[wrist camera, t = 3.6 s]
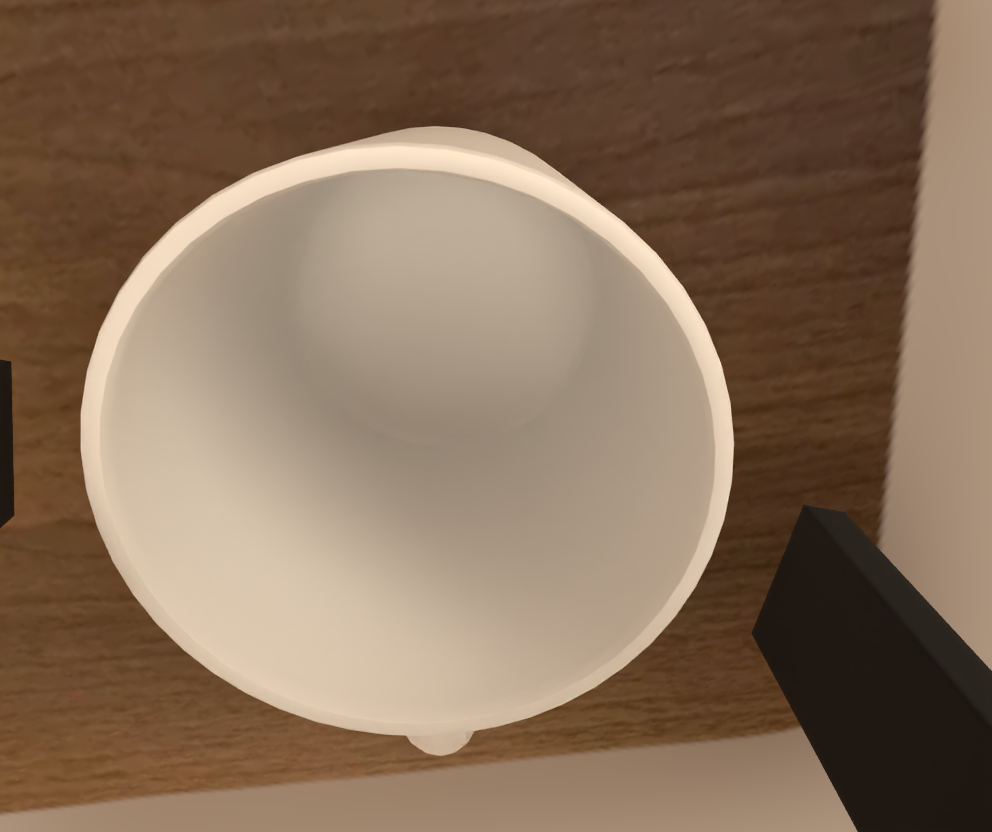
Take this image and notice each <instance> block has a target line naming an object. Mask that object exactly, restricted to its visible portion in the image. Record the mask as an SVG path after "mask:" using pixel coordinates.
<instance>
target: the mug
mask: <svg viewBox="0 0 992 832" xmlns="http://www.w3.org/2000/svg"><path fill="white" fill-rule="evenodd" d="M733 451H734V437H733V426H732V415H731V403H730V399H729V395H728V391H727V386H726V382H725V378H724V374H723V370H722V366H721V362H720V360H719V357H718V355H717V352H716V350H715V347H714V345H713V342H712V340H711V337H710V335H709V332H708V330H707V327H706V325H705V323H704V322H703V320H702V318H701V316H700V315H699V313H698V311H697V309H696V308H695V306H694V304H693V303H692V301H691V299H690V297H689V296H688V294H687V292H686V291H685V289H684V287H683V286H682V285H681V284H680V282H679V281H678V280H677V279H676V277H675V276H674V275H673V274H672V272H671V271H670V270H669V269H668V267H667V266H666V265H665V264H664V262H663V261H662V260H661V258H660V257H659V256H658V255H657V253H656V252H654V251H653V250H652V249H651V248H650V247H649V246H648V245H647V244H646V243H645V242H644V241H643V240H642V239H641V238H640V237H639V236H638V235H637V234H636V233H634V232H633V231H632V230H631V229H630V228H629V227H628V226H627V225H626V224H625V223H624V222H623V221H621V220H620V219H619V218H618V217H616V216H615V215H614V214H612V213H611V212H610V211H608V210H607V209H606V208H605V207H603V206H602V205H601V204H599V203H598V202H597V201H595V200H594V199H593V198H591V197H590V196H589V195H588V194H586V193H585V192H584V191H582V190H581V189H580V188H578V187H577V186H576V185H575V184H573V183H572V182H571V181H569V180H568V179H567V178H565V177H564V176H563V175H562V174H560V173H559V172H558V171H556V170H555V169H554V168H552V167H551V166H549V165H548V164H547V163H545V162H544V161H542V160H541V159H540V158H538V157H537V156H536V155H534V154H532V153H531V152H529V151H527V150H525V149H523V148H521V147H519V146H517V145H515V144H513V143H511V142H509V141H506V140H504V139H501V138H498V137H495V136H492V135H490V134H487V133H483V132H478V131H473V130H469V129H464V128H454V127H440V126H431V127H417V128H408V129H403V130H398V131H394V132H389V133H385V134H381V135H377V136H373V137H369V138H366V139H362V140H358V141H354V142H350V143H347V144H343V145H339V146H335V147H331V148H328V149H324V150H320V151H316V152H312V153H309V154H305V155H301V156H298V157H295V158H292V159H290V160H287V161H284V162H282V163H279V164H276V165H273V166H271V167H268V168H265V169H263V170H260V171H257V172H254V173H252V174H251V175H249V176H247V177H245V178H243V179H241V180H240V181H238V182H236V183H234V184H232V185H230V186H228V187H227V188H225V189H223V190H221V191H219V192H217V193H216V194H214V195H212V196H211V197H209V198H208V199H207V200H205V201H204V202H203V203H201V204H200V205H199V206H198V207H196V208H195V209H194V210H192V211H191V212H190V213H188V214H187V215H186V216H184V217H183V218H182V219H180V220H179V221H178V222H176V223H175V224H174V225H173V226H172V227H171V228H170V229H169V230H168V231H167V233H166V234H165V235H164V236H163V237H162V238H161V239H160V240H159V241H158V242H157V243H156V244H155V245H154V246H153V247H152V248H151V249H150V250H149V251H148V252H147V253H146V254H145V255H144V257H143V258H142V259H141V261H140V262H139V264H138V265H137V266H136V268H135V269H134V271H133V272H132V273H131V275H130V276H129V278H128V279H127V280H126V282H125V283H124V285H123V286H122V287H121V289H120V290H119V292H118V294H117V296H116V298H115V300H114V302H113V304H112V306H111V308H110V310H109V312H108V314H107V316H106V318H105V320H104V322H103V324H102V326H101V328H100V331H99V334H98V337H97V340H96V343H95V347H94V350H93V353H92V356H91V359H90V363H89V366H88V369H87V375H86V382H85V388H84V395H83V401H82V408H81V456H82V463H83V470H84V477H85V484H86V490H87V494H88V497H89V501H90V504H91V507H92V511H93V514H94V517H95V521H96V524H97V527H98V530H99V532H100V534H101V536H102V538H103V541H104V543H105V545H106V547H107V550H108V552H109V554H110V556H111V558H112V561H113V563H114V564H115V566H116V567H117V569H118V571H119V572H120V574H121V576H122V577H123V579H124V580H125V582H126V584H127V585H128V587H129V589H130V590H131V592H132V593H133V595H134V596H135V597H136V599H137V600H138V601H139V602H140V604H141V605H142V606H143V607H144V609H145V610H146V611H147V612H148V614H149V615H150V616H151V617H152V619H153V620H154V621H155V622H156V624H157V625H158V626H159V627H160V628H161V629H162V630H164V631H165V632H166V633H167V634H168V635H169V636H170V637H171V638H172V639H173V640H174V641H175V642H176V643H177V644H178V645H179V646H180V647H181V648H182V649H183V650H184V651H185V652H187V653H188V654H189V655H191V656H192V657H193V658H194V659H196V660H197V661H198V662H200V663H201V664H202V665H203V666H205V667H206V668H207V669H209V670H210V671H211V672H213V673H214V674H215V675H217V676H219V677H220V678H222V679H224V680H225V681H227V682H229V683H230V684H232V685H233V686H235V687H237V688H238V689H240V690H242V691H243V692H245V693H247V694H249V695H251V696H253V697H255V698H257V699H259V700H262V701H264V702H266V703H268V704H270V705H272V706H274V707H276V708H278V709H281V710H284V711H287V712H290V713H292V714H295V715H298V716H301V717H304V718H307V719H310V720H312V721H316V722H320V723H324V724H328V725H333V726H337V727H341V728H345V729H349V730H356V731H363V732H371V733H378V734H386V735H406V736H407V737H408V739H409V741H410V742H411V743H412V744H413V745H415V746H416V747H418V748H419V749H421V750H422V751H424V752H426V753H428V754H433V755H439V756H443V755H447V754H450V753H454V752H456V751H458V750H459V749H460V748H461V747H463V746H464V745H465V744H467V743H468V741H469V739H470V738H471V736H472V734H473V732H474V731H476V730H482V729H488V728H493V727H498V726H501V725H505V724H508V723H512V722H515V721H519V720H523V719H526V718H530V717H532V716H535V715H537V714H540V713H542V712H545V711H547V710H550V709H552V708H555V707H557V706H560V705H562V704H564V703H566V702H568V701H570V700H572V699H574V698H576V697H578V696H579V695H581V694H583V693H585V692H587V691H589V690H591V689H592V688H594V687H596V686H597V685H599V684H600V683H602V682H603V681H605V680H606V679H607V678H609V677H610V676H612V675H613V674H615V673H616V672H618V671H619V670H621V669H622V668H623V667H625V666H626V665H627V664H628V663H629V662H630V661H632V660H633V659H634V658H635V657H636V656H637V655H638V654H640V653H641V652H642V651H643V650H644V649H645V648H646V647H648V646H649V645H650V644H651V643H652V642H653V641H654V640H655V639H656V637H657V636H658V635H659V634H660V633H661V632H662V631H663V630H664V629H665V627H666V626H667V625H668V624H669V623H670V622H671V621H672V620H673V618H674V617H675V616H676V615H677V613H678V612H679V610H680V609H681V607H682V606H683V604H684V603H685V602H686V600H687V599H688V597H689V596H690V594H691V593H692V591H693V590H694V588H695V587H696V585H697V583H698V581H699V579H700V577H701V575H702V573H703V571H704V569H705V567H706V565H707V563H708V561H709V559H710V557H711V556H712V553H713V550H714V547H715V544H716V542H717V539H718V536H719V533H720V530H721V527H722V525H723V522H724V518H725V513H726V508H727V503H728V498H729V493H730V488H731V483H732V470H733Z"/></svg>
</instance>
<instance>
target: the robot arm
mask: <svg viewBox="0 0 992 832" xmlns="http://www.w3.org/2000/svg"><path fill="white" fill-rule="evenodd" d="M13 516H14V473H13V424H12V374H11V361H5V360H0V528H1V527H2V526H3V525H4V524H5V523H6V522H8V521H9V520H10V519H11V518H12V517H13ZM752 635H753V637H754V639H755V641H756V643H757V645H758V646H759V648H760V650H761V652H762V654H763V656H764V658H765V659H766V661H767V663H768V665H769V667H770V669H771V671H772V673H773V674H774V676H775V678H776V680H777V682H778V684H779V686H780V687H781V689H782V691H783V693H784V695H785V697H786V699H787V701H788V702H789V704H790V706H791V708H792V710H793V712H794V714H795V715H796V717H797V719H798V721H799V723H800V725H801V727H802V729H803V730H804V732H805V734H806V736H807V738H808V740H809V741H810V743H811V745H812V747H813V749H814V751H815V753H816V755H817V756H818V758H819V760H820V762H821V764H822V766H823V768H824V770H825V771H826V773H827V775H828V777H829V779H830V781H831V782H832V784H833V786H834V788H835V790H836V792H837V794H838V796H839V797H840V799H841V801H842V803H843V805H844V807H845V809H846V811H847V812H848V814H849V816H850V818H851V820H852V821H853V824H854V826H855V827H856V829H857V831H858V832H992V671H991V670H990V669H989V668H988V666H986V664H985V663H984V662H983V661H982V660H981V659H980V658H979V657H978V656H977V655H976V654H975V653H974V651H973V650H972V649H971V648H970V647H969V646H968V645H967V644H966V643H965V642H964V641H963V640H962V638H961V637H960V636H959V635H958V634H957V633H956V632H955V631H954V630H953V629H952V628H951V627H950V625H949V624H948V623H947V622H946V621H945V620H944V619H943V618H942V617H941V616H940V615H939V614H938V612H937V611H936V610H935V609H934V608H933V607H932V606H931V605H930V604H929V603H928V602H927V601H926V600H925V599H924V597H923V596H922V595H921V594H920V593H919V592H918V591H917V590H916V589H915V588H914V587H913V585H912V584H911V583H909V581H908V580H907V579H906V578H905V577H904V576H903V575H902V574H901V572H900V571H899V570H898V569H897V568H896V567H895V566H894V565H893V564H892V563H891V562H890V561H889V559H887V557H886V556H885V555H884V554H883V553H882V552H881V551H880V550H879V549H878V548H877V547H876V545H875V544H874V543H873V542H872V541H871V540H870V539H869V538H868V537H867V536H866V535H865V534H864V532H863V531H862V530H861V529H860V528H859V527H858V526H857V525H856V524H855V523H854V522H853V521H852V519H851V518H850V517H849V516H848V515H847V514H846V513H845V512H840V511H835V510H829V509H824V508H818V507H812V506H807V505H804V506H803V508H802V511H801V513H800V516H799V518H798V521H797V523H796V525H795V528H794V530H793V533H792V535H791V538H790V540H789V543H788V545H787V548H786V550H785V552H784V555H783V557H782V560H781V562H780V565H779V567H778V570H777V572H776V575H775V577H774V579H773V582H772V584H771V587H770V589H769V592H768V594H767V597H766V599H765V602H764V604H763V606H762V609H761V611H760V614H759V616H758V619H757V621H756V624H755V626H754V629H753V631H752Z"/></svg>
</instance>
